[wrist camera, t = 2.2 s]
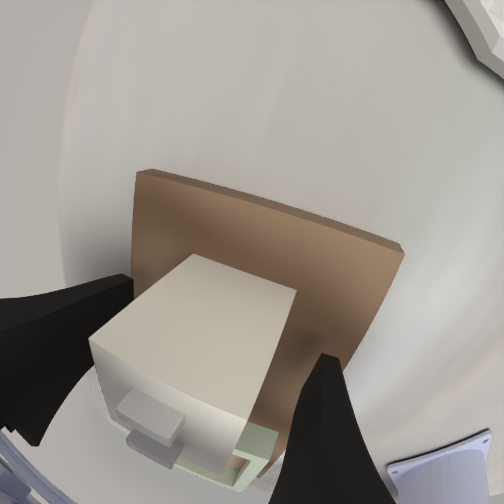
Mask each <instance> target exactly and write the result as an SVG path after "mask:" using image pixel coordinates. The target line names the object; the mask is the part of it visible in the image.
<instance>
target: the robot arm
mask: <svg viewBox="0 0 504 504" xmlns="http://www.w3.org/2000/svg"><path fill="white" fill-rule="evenodd" d="M133 301H134V279H132V278H130V277H128V276H126V275H124V274H118V275H113V276H109V277H106V278H102V279H98V280H95V281H91V282H88V283H84V284H80V285H77V286H73V287H70V288H66V289H61V290H57V291H53V292H49V293H45V294H39V295H34V296H27V297H20V298H4V299H0V453H1V454H2V456H3V457H4V458H5V459H6V460H7V461H8V463H9V464H10V465H11V466H12V467H13V468H14V469H15V470H16V471H17V472H16V471H15V470H14V469H13V468H12V467H11V466H10V465H9V464H8V463H6V462H5V461H4V460H3V459H2V458H1V457H0V504H41V503H40V502H38V501H37V500H36V499H35V498H34V497H33V496H32V495H30V494H29V493H30V492H31V488H30V486H31V487H32V488H33V489H34V490H35V491H36V492H38V493H39V494H40V495H41V496H42V497H43V498H44V499H45V500H46V501H47V502H48V503H50V504H77V503H76V502H74V501H73V500H72V499H70V498H69V497H68V496H66V495H65V494H64V493H63V492H62V491H61V490H59V489H58V488H57V487H56V486H55V485H53V484H52V483H51V482H50V481H49V480H48V479H47V478H46V477H44V476H43V475H42V474H41V473H40V472H39V471H38V470H37V469H36V468H35V467H34V466H33V465H32V464H31V463H30V462H29V461H28V460H27V459H26V458H25V457H24V456H23V455H22V454H21V453H20V452H19V451H18V450H17V448H16V447H15V446H14V445H13V444H12V443H11V442H10V440H9V439H8V438H7V437H6V436H5V435H4V433H3V432H2V431H1V429H2V428H3V427H4V426H5V427H6V428H7V429H8V430H9V432H11V433H12V432H13V431H14V430H15V429H16V431H17V432H18V433H19V434H20V435H21V436H22V437H23V438H24V439H25V440H26V441H27V442H28V443H29V444H30V445H31V446H35V447H36V446H39V444H40V442H41V440H42V438H43V436H44V434H45V432H46V430H47V428H48V426H49V424H50V422H51V420H52V419H53V417H54V415H55V414H56V412H57V411H58V409H59V407H60V406H61V404H62V403H63V402H64V400H65V399H66V397H67V396H68V394H69V393H70V392H71V390H72V389H73V388H74V386H75V385H76V384H77V382H78V381H79V380H80V379H81V378H82V377H83V375H84V374H85V373H86V372H87V371H88V370H89V369H90V368H91V367H92V366H93V365H94V360H93V356H92V352H91V347H90V343H89V339H88V338H89V337H91V336H92V335H93V334H94V333H95V332H96V331H98V330H99V329H100V328H101V327H102V326H104V325H105V324H106V323H107V322H108V321H110V320H111V319H112V318H113V317H114V316H116V315H117V314H118V313H119V312H121V311H122V310H123V309H124V308H125V307H127V306H128V305H129V304H130V303H132V302H133ZM491 438H492V433H491V431H490V430H488V431H485V432H483V433H481V434H479V435H477V436H474V437H472V438H470V439H467V440H465V441H463V442H460V443H458V444H455V445H452V446H450V447H447V448H444V449H441V450H439V451H436V452H433V453H430V454H426V455H423V456H420V457H417V458H413V459H409V460H406V461H402V462H398V463H394V464H390V465H389V466H387V472H388V474H389V476H390V478H391V479H392V481H393V483H394V485H395V486H396V488H397V490H398V504H490V503H489V490H488V480H487V472H486V465H485V463H486V459H487V455H488V451H489V447H490V442H491ZM27 483H28V484H29V485H30V486H29V485H28V484H27ZM268 504H396V503H395V501H394V499H393V498H392V496H391V494H390V493H389V491H388V489H387V488H386V486H385V484H384V482H383V481H382V479H381V477H380V475H379V473H378V471H377V469H376V467H375V465H374V463H373V461H372V459H371V457H370V454H369V452H368V450H367V447H366V445H365V443H364V440H363V437H362V435H361V432H360V429H359V426H358V424H357V421H356V418H355V415H354V411H353V408H352V405H351V401H350V398H349V395H348V391H347V387H346V384H345V380H344V376H343V372H342V367H341V363H340V360H339V358H338V357H334V356H331V355H328V354H324V353H321V355H320V357H319V358H318V360H317V362H316V364H315V366H314V368H313V369H312V371H311V373H310V375H309V377H308V378H307V380H306V382H305V384H304V385H303V387H302V389H301V392H300V395H299V398H298V401H297V404H296V408H295V411H294V414H293V419H292V424H291V429H290V433H289V438H288V443H287V447H286V452H285V456H284V461H283V465H282V469H281V472H280V475H279V478H278V481H277V483H276V486H275V489H274V491H273V494H272V496H271V499H270V501H269V503H268Z"/></svg>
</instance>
